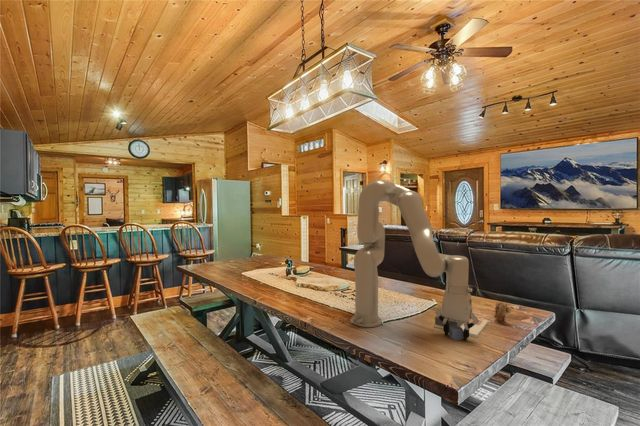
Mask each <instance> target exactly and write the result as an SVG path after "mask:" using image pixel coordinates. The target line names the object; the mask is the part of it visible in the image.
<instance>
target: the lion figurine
mask: <svg viewBox="0 0 640 426" xmlns="http://www.w3.org/2000/svg"><path fill="white" fill-rule="evenodd" d="M494 309H495V310H494V311H495V312H494V315H493V318H495V323H499V322H500V320H499V317H502V318H501V321H502V323H504V324H505V323H506V321H505V319H506V315H507V313H508V314H510V312H511V311H512V308H510V307H509V306H508V304H507V302H501V301H497V302H496V303H495V308H494Z"/></svg>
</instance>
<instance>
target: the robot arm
mask: <svg viewBox="0 0 640 426" xmlns="http://www.w3.org/2000/svg"><path fill="white" fill-rule="evenodd" d="M381 202H387V203H390V204H392V205H394V206H397V208H398V209H399V211H400V214H401V217H402V218H403V221H404V223H405V225H406V228H407V229H408V232H409V235H410V238H411V242H412V245H413V248H414V251H415V253H416V257H417V259H418V262H419V264H420V265H421V268H422V270H423V271H424V273H425V274H426V275H427V276H429V277H432V278H437V277H438V278H439V277H440V276H441V275H443V273H445V275H446V277H445V278H446V280H445V283H446V284H445V286H446V287H445V290H444V292H443V295H442V301H441V307H440V308H438V309H437V310H435V312H434V313H435V315H436V316H438V317H439V319H440V320H441V321H442V323H443V324H444V326H443V329H442V330H443V332H444V336H448V335H449V323H448V320H449V319H453V320H457V321H462V322H463V324H464V327H465V329H464V330H463V338H462V340H464V341H467V339H468V338H469V337H470V336H469V329H470V328H471V327H473V326H474V325H476V324H477V323H478V322H479V320H478V319H479V318H478V317H477V316H476V315H475V314H474V313H473V303H472V296H471V293H472V292H473V288H471V287H470V286H469V265H470V263H469V262H470V261H469V259H468V257H466V256H464V255H451V254H445V253H444V254H443V253H440V252H439V251H438V248H437V247H436V244H435V241H434V238H433V227H432V224H431V221H430V220H429V218H428V215H427V213H426V211H425V209H424V207H423V198H422V196H421V195H420V194H419V193H418V192H417V191H414V190H411V189H409V188H406V187H404V186H402V185H399V184H398V183H395V182H393V181H389V180H384V179H377V180H374V181H371V182H369V183H368V184H366V185H365V186H364V187H363V188H362V189H361V191H360V194H359V197H358V211H357V213H358V215H357V229H356V231H357V233H356V234H357V239H358V241H359V242H361V244H363V247H362V248H360V249H358V250H357V251H356V253H355V255H354V257H353V267H354V276H355V277H354V280H355V283H354V285H355V294H354V295H355V296H354V297H355V298H354V299H355V300H354V302H355V304H354V305H355V306H354V308H355V309H354V311H355V312H354V315H353V316H352V317H350V319H349V323H351V324H354V325H355V326H358V327H362V328H375V327H379V326H381V324H382V321H383V320H382V318H381V317H380V316H379V273H378V266H379V265H380V264H381V263H382V262H383V261H384V258H385V249H386V247H385V245H386V242H385V241H386V230H385V227H384V225H383V224H382V223H381V221H379V220H380V219H379V218H380V217H379V216H380V210H379V207H380V206H379V204H380V203H381ZM441 312H442V314H441ZM469 319H472V320H473V322H471V323H469Z"/></svg>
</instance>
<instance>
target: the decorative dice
mask: <svg viewBox="0 0 640 426" xmlns="http://www.w3.org/2000/svg"><path fill="white" fill-rule="evenodd" d="M448 335H449V338H450V339H451V340H454V341H461V340H463V329H462V328H461V327H459V326H451V327H450V328H449V333H448Z"/></svg>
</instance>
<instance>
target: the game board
mask: <svg viewBox="0 0 640 426" xmlns="http://www.w3.org/2000/svg"><path fill="white" fill-rule="evenodd" d="M441 314H442V311H441ZM477 319H478V320H479V322H478V323H477V324H476V325H474V326H473V327H471V328H470V329H469V337H472V338H478V337H479V335H480V334H481V333H482V332H483V330H484V329H485V328H486V327H487V325H488V324H489V321H488V320H486V319H482V318H481V319H480V318H477ZM471 322H473V320H472V319H469V323H471ZM448 323H449V328H450V327H451V326H459V327H461V328H462V329H463V330H464V329H465V327H464V324H463V322H462V321H457V320H456V321H453V320H448ZM443 326H444V324H443V323H442V321H441V320H440V319H439V317H438V316H437V315H436V316H435V317H434V327H435V328H438V329H441V330H443Z"/></svg>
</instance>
